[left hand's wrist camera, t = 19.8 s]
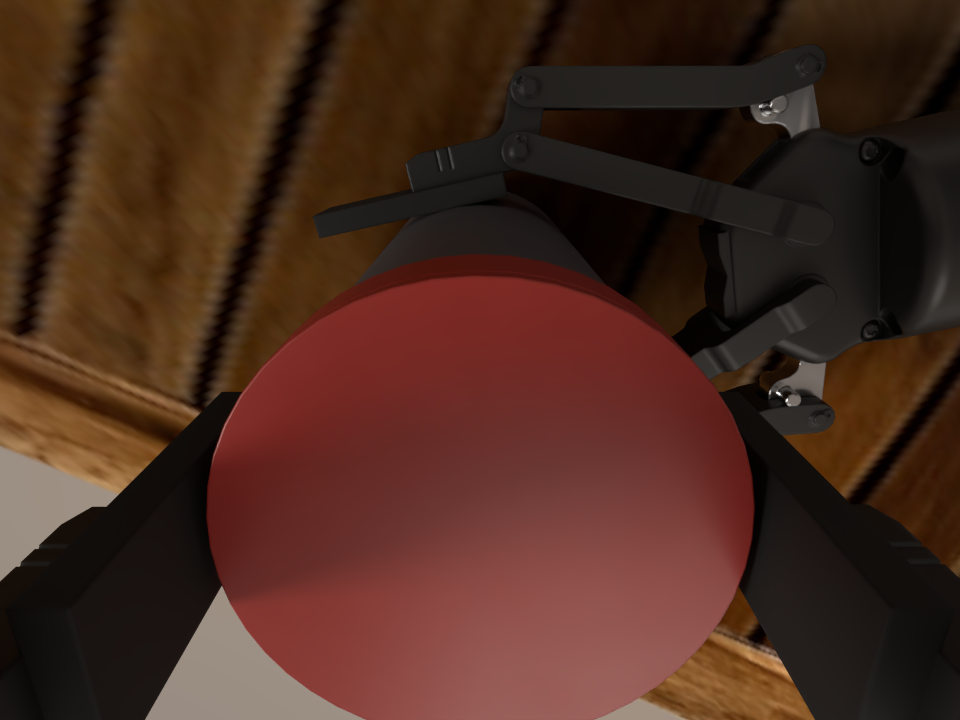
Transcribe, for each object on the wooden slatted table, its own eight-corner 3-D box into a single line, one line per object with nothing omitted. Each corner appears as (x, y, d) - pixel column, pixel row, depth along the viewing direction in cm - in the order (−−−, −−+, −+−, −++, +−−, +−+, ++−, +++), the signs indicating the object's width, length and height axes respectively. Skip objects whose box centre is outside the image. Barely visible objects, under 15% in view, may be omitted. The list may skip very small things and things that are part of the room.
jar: (513, 148, 27) (578, 175, 9) (606, 314, 29) (795, 584, 12) (349, 252, 28) (135, 446, 11) (451, 401, 31) (412, 755, 13)
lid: (342, 705, 14) (324, 781, 13) (160, 335, 11) (104, 370, 9) (747, 615, 13) (786, 685, 12) (671, 185, 10) (708, 195, 9)
